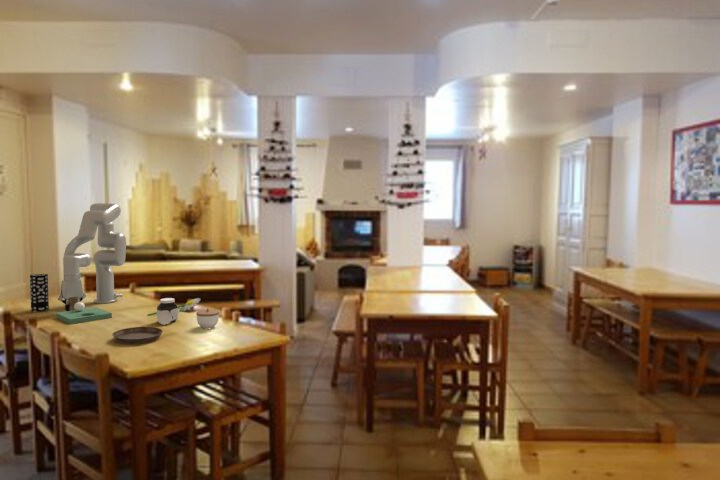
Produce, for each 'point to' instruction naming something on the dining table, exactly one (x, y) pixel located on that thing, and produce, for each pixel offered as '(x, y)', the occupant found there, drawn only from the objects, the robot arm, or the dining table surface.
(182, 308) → the decorative flower
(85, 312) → the putting mat
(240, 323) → the dining table surface
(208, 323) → the lidded jar
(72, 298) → the brown block
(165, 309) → the spread jar
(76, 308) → the ball
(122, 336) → the plant saucer
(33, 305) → the spotted tube
